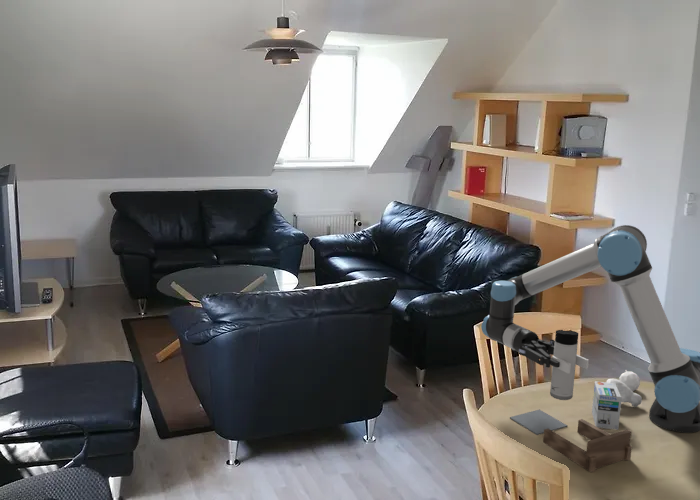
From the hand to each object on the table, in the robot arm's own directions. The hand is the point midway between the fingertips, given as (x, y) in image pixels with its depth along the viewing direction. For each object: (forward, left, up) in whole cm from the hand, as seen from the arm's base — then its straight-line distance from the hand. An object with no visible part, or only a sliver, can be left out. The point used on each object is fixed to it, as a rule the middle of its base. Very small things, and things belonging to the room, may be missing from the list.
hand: (578, 366), depth 195 cm
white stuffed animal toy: (-16, -32, -24) cm, 43 cm away
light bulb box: (-10, -18, -24) cm, 32 cm away
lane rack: (-4, +3, -24) cm, 24 cm away
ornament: (-19, -45, -24) cm, 54 cm away
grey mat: (+9, -10, -24) cm, 27 cm away
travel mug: (+4, -4, -11) cm, 12 cm away
